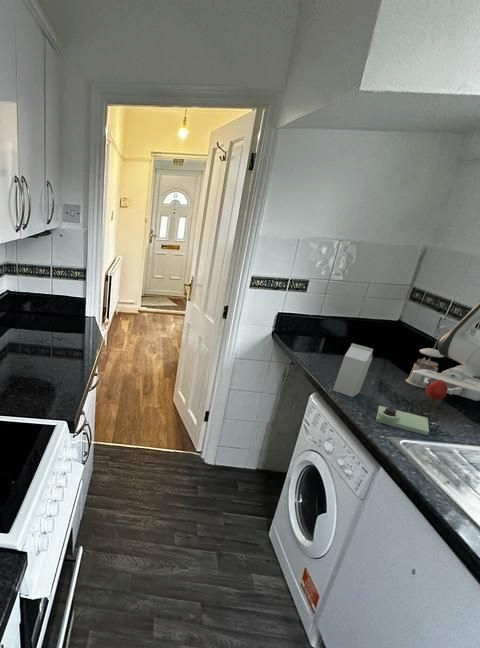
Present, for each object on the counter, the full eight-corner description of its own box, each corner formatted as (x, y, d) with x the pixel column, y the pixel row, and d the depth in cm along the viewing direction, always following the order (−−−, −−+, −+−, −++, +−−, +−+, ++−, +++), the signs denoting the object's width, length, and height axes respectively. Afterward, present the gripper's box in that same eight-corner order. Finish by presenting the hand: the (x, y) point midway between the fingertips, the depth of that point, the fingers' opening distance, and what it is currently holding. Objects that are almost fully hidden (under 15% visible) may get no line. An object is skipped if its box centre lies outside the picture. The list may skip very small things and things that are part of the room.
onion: (421, 395, 145) (430, 374, 141) (442, 400, 142) (451, 379, 138) (421, 401, 140) (431, 379, 137) (443, 406, 137) (452, 384, 134)
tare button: (394, 414, 136) (396, 409, 136) (394, 417, 134) (396, 413, 133) (384, 411, 138) (385, 407, 137) (383, 414, 136) (385, 410, 135)
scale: (426, 421, 139) (429, 413, 137) (427, 436, 129) (431, 427, 128) (377, 409, 146) (380, 401, 145) (375, 422, 136) (378, 414, 135)
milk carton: (351, 399, 153) (369, 351, 145) (332, 391, 158) (348, 345, 150) (358, 394, 157) (376, 347, 149) (339, 387, 162) (355, 341, 154)
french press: (435, 385, 169) (463, 327, 159) (427, 392, 162) (454, 331, 152) (408, 377, 176) (432, 320, 165) (399, 383, 169) (423, 324, 158)
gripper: (423, 363, 152) (405, 368, 145) (494, 382, 136) (478, 390, 129) (417, 378, 155) (399, 385, 148) (486, 400, 139) (469, 408, 132)
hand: (437, 387), depth 138 cm, fingers closed on onion, 5 cm apart
